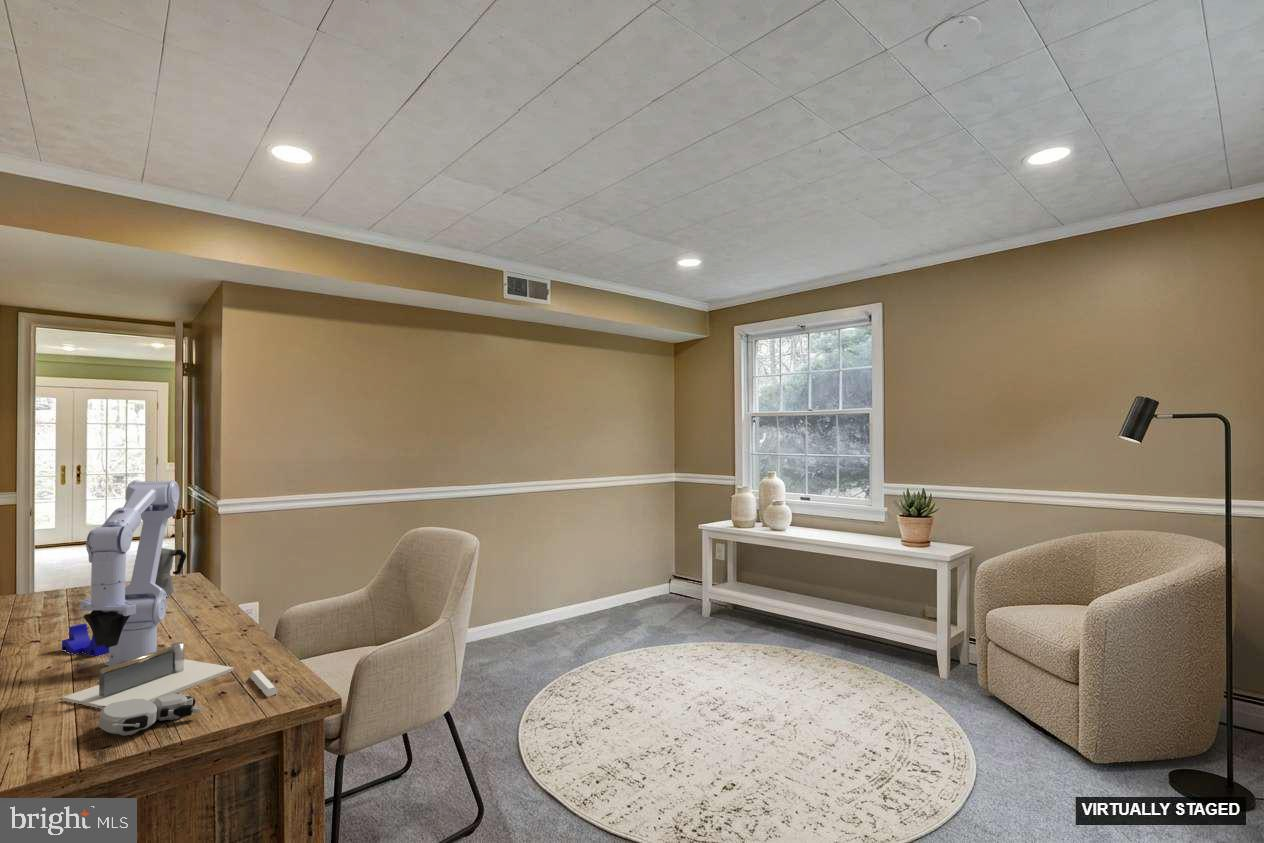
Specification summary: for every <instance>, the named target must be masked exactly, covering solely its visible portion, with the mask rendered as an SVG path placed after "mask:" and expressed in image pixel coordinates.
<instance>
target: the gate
mask: <svg viewBox="0 0 1264 843" xmlns="http://www.w3.org/2000/svg"><path fill="white" fill-rule="evenodd" d="M172 650H173V649H172V647H171V646H170V647H169V646H168V647H166V648H162V649H160V650H157V651H156V652H153V653H150V654H146V655H143V656H140V657H137V658H134V659H131V660H127V661H124V662H121V663H118V664H115V665H112V666H106V667H103V668H100V670H99V678H98V680H99V681H98V682H99V684H98V685H99V696H107V695H110V694H113V693H115V692H118V691H121V690H124V689H127V688H130V687H132V686H135V685H138V684H141V683H144V682H146V681H149V680H152V679H155V678H158V677H161V676H163V675H166V674H169V673H172V672H173V652H172Z"/></svg>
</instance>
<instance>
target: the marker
mask: <svg viewBox="0 0 1264 843" xmlns="http://www.w3.org/2000/svg"><path fill="white" fill-rule="evenodd" d="M249 678H250V679H251V681H252V682H253V681H254V682H253V683H254V684H255V685H256V686H257V688H258V689H259V690H260V689H261V690H262V691H261V690H260V691H261V692H262V693H263V694H264V695H265V696H266V697H267V696H270V695H274V694H276V695H278V692H279V690H278V689H277V687H275V685H274V684H273V683H272V682H271V681H270V680H269V679H268V678H267V677H266V676H265V675H264V674H263V673H262V672H261V670H260V669H256V670H252V671H251V674H250V675H249Z"/></svg>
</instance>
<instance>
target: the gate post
mask: <svg viewBox="0 0 1264 843" xmlns="http://www.w3.org/2000/svg"><path fill="white" fill-rule="evenodd" d="M170 647H172V649H173V650H172V652H173V672H172V673H178V672H182V671H183V670H184V659H185V642H183V641H179V642H178V641H177V642H174V643H172V644H171V645H170Z"/></svg>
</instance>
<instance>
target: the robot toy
mask: <svg viewBox="0 0 1264 843" xmlns="http://www.w3.org/2000/svg"><path fill="white" fill-rule="evenodd" d="M196 702H197V701H196V699H195V698H194V697H193V696H191V694H190V695H189V694H186V693H180V692H178V693H175V694H171V695H167V696H163V697H159V698H157V699H156V700H155V701H154V702H150V701H148V700H145V699H130V700H125V701H120V702H115V703H111V704H109V705H107V706H102V705H98V706H96V707H97V708H101V707H104V708H103V709H102V710H101V709H100V712H99V715H98V716H99V717H98V728H100V729H102V731H104V732H106V733H108V734H109V733H110V734H112V735H121V736H122V737H123V736H124V737H127V736H126V735H130V736H132V735H131V734H133V735H135V734H137V733H138V732H139V731H141V730H147V729H148V728H149V727H151V726H152V725H153V724H155V722H156V721H157V720H158V721H160V722H162V721H167V720H170V721H173V720H174V719H175V720H179V719H180V718H181V717H189V716H192V713H194V714H197V713H201V712H203V711H202V710H203V707H202V706H201V705H200V706H199V705H197V706H195V704H196ZM97 708H96V709H97ZM178 718H179V719H178ZM136 732H137V733H136ZM134 733H135V734H134Z"/></svg>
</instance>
